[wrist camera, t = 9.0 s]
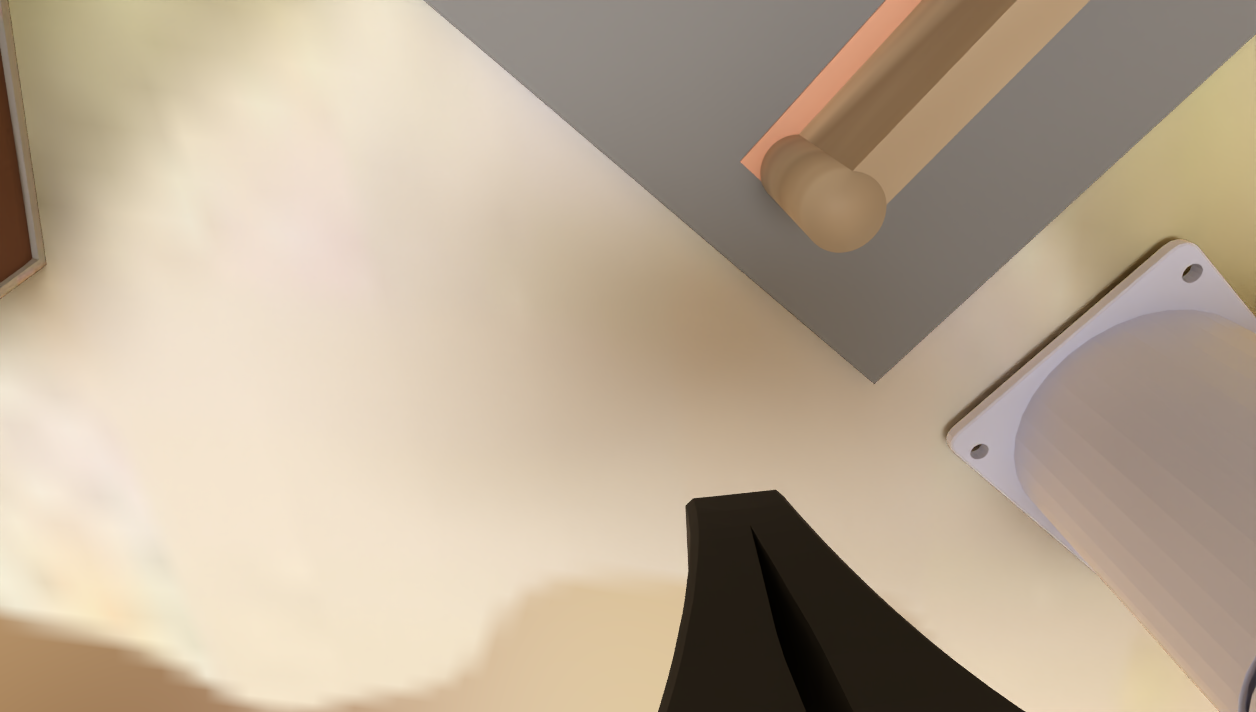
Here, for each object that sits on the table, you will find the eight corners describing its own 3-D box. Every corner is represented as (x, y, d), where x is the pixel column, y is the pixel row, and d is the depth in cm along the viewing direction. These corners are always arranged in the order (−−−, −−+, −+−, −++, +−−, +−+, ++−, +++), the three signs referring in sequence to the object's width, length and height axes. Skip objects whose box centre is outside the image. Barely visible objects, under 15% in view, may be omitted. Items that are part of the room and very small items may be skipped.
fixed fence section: (1178, -191, 15) (1360, -239, 12) (792, 215, 18) (845, 271, 15) (1137, -258, 15) (1315, -330, 11) (745, 172, 18) (790, 221, 14)
